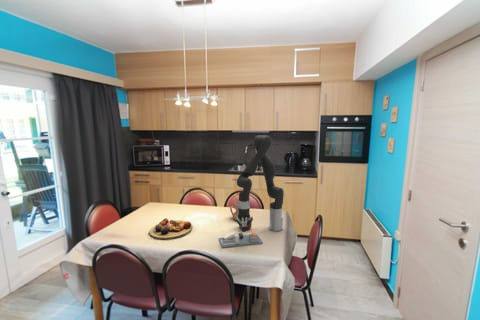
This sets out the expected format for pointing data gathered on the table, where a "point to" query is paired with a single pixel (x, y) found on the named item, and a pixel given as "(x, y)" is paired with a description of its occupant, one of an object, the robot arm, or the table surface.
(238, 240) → the grey slider knob
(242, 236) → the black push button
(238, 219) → the ceramic jug
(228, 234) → the cream rocker
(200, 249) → the table surface
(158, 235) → the wooden plate with food
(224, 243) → the panel
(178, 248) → the table surface
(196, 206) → the table surface
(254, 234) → the orange plunger
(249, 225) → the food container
